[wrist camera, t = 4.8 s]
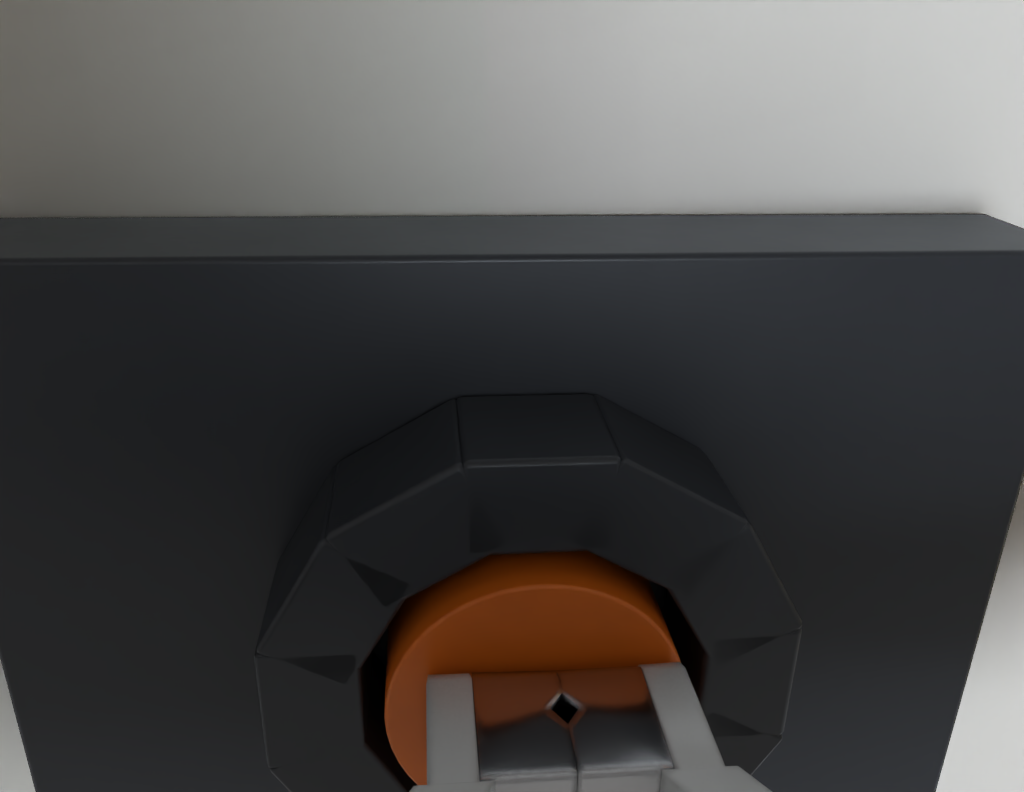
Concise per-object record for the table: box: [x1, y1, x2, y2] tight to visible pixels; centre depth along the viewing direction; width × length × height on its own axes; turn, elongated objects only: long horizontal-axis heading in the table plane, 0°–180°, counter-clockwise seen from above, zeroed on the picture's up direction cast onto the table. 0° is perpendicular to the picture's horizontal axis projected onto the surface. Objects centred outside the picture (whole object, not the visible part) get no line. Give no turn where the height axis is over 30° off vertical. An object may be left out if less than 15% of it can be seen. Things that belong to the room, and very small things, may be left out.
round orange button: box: [384, 551, 681, 785], centre depth 11 cm, size 4×4×2 cm
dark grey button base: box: [0, 214, 1024, 792], centre depth 13 cm, size 14×10×4 cm
